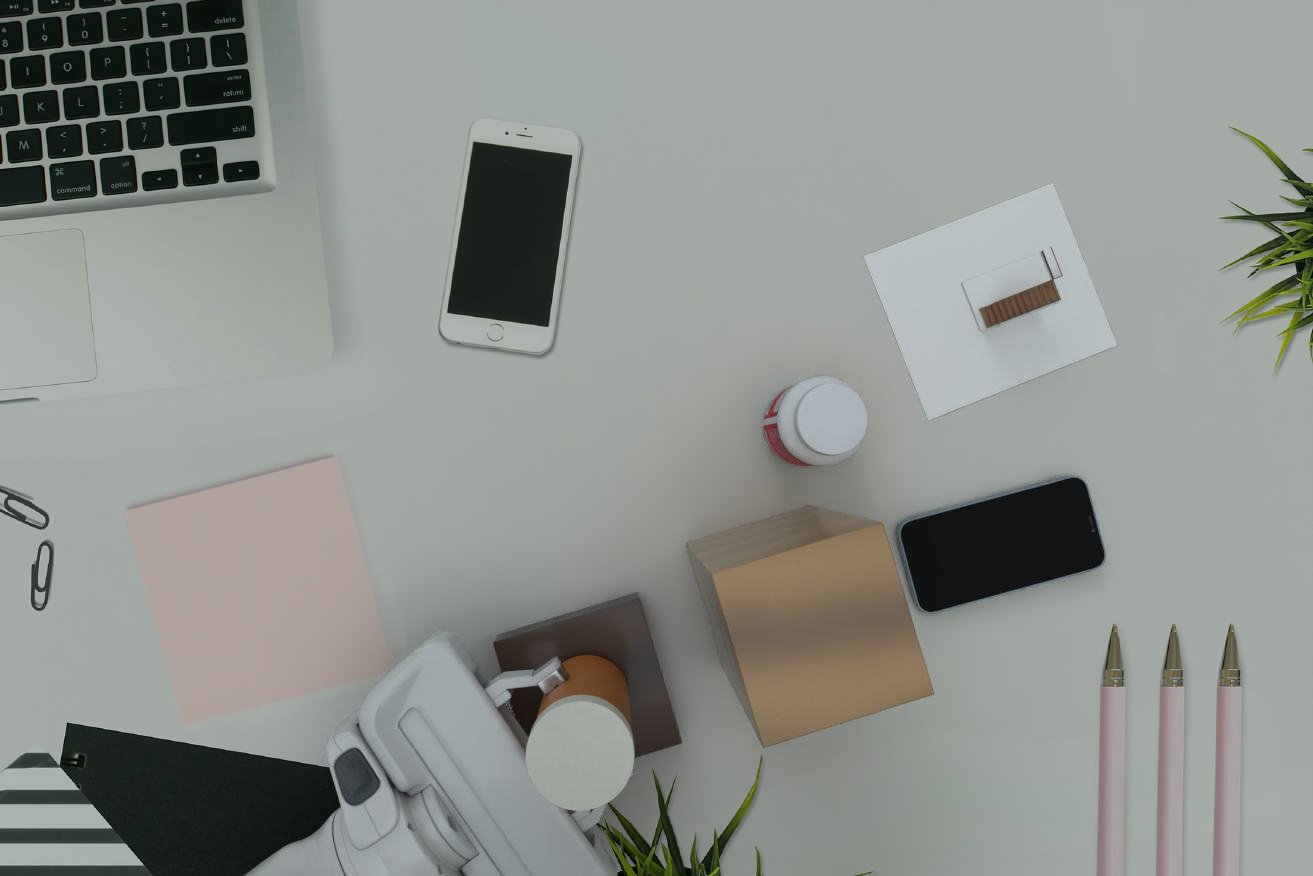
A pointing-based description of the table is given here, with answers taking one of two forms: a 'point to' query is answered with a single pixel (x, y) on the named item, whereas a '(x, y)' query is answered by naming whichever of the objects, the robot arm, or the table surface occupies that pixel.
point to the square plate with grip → (990, 301)
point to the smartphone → (1001, 544)
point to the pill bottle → (815, 422)
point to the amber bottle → (583, 737)
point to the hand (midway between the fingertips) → (595, 713)
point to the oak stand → (809, 620)
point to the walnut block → (605, 634)
